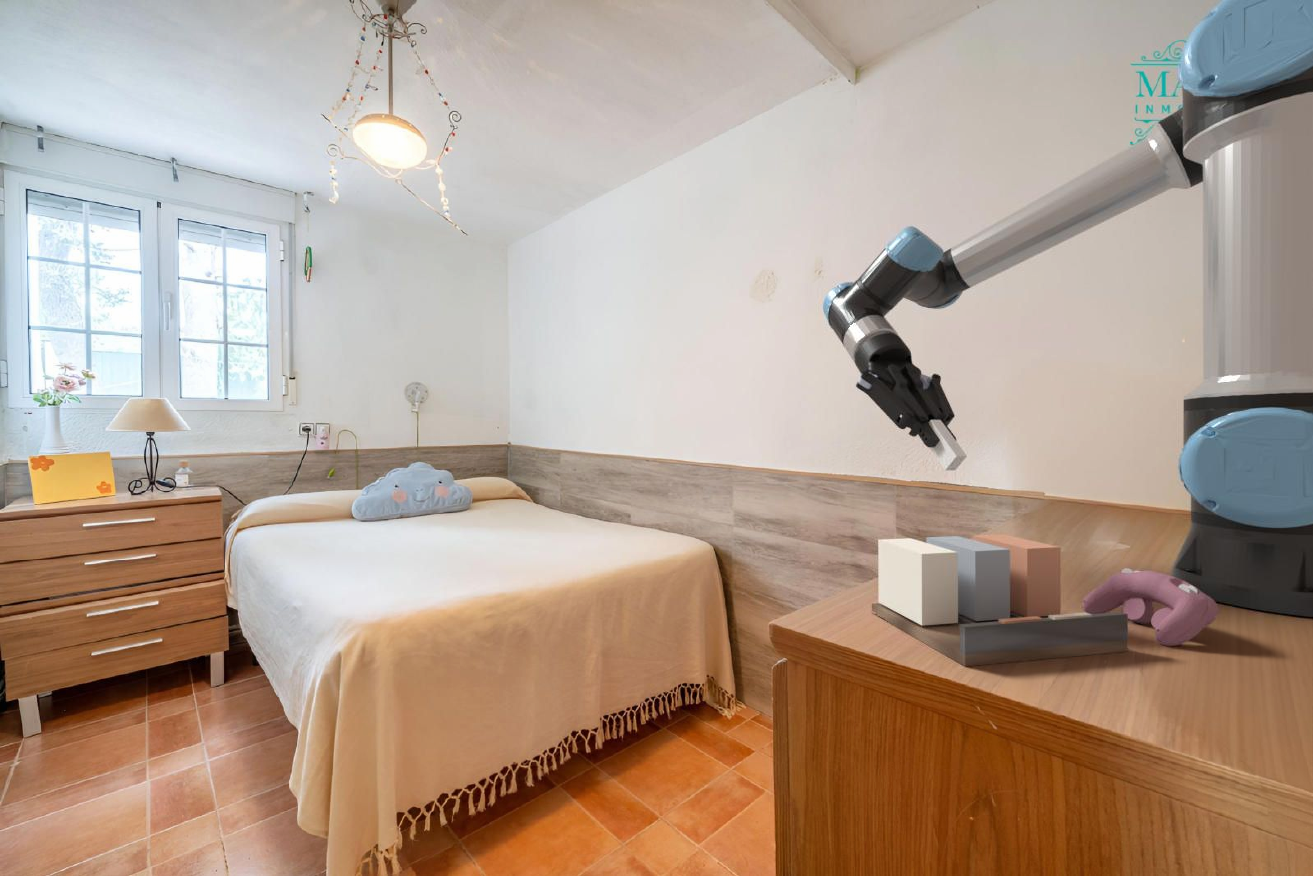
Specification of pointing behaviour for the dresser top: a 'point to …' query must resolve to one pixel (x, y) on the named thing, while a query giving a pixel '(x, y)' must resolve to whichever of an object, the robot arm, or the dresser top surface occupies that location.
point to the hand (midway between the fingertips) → (955, 463)
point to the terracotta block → (1031, 575)
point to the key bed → (1018, 636)
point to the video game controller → (1142, 588)
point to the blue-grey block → (980, 577)
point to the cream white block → (918, 580)
